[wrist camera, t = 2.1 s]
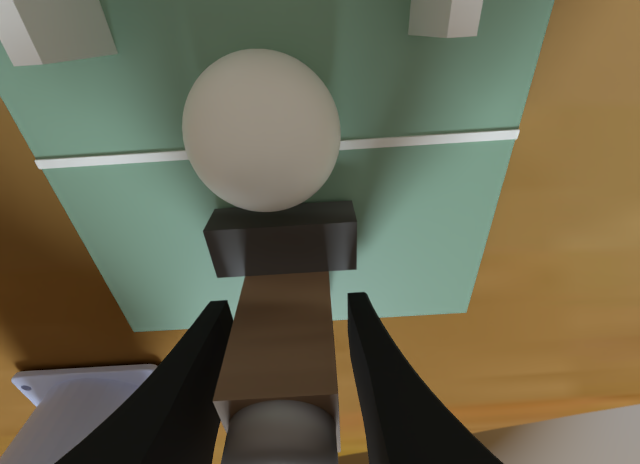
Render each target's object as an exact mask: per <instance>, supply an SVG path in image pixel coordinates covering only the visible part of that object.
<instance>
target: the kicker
mask: <svg viewBox="0 0 640 464" xmlns="http://www.w3.org/2000/svg"><path fill="white" fill-rule="evenodd" d="M203 233H204V237H205V240H206V243H207V247H208V250H209V253H210V256H211V260H212V263H213V266H214V269H215V273H216V276H217V278H226V277H242V276H245V278H244V282H243V286H242V290H241V294H240V297H239V301H238V305H237V309H236V313H235V317H234V321H233V324H232V328H231V332H230V336H229V340H228V344H227V347H226V351H225V355H224V359H223V363H222V367H221V371H220V374H219V378H218V382H217V386H216V390H215V394H214V397H213V403H214V406H215V408H216V410H217V413H218V415H219V417H220V419H221V422H222V424H223V426H224V428H225V431H226V433H227V436H226V441H225V446H224V451H223V456H222V461H221V464H338V453H337V452H341V449H340V426H339V402H338V386H337V373H336V360H335V347H334V334H333V321H332V308H331V295H330V282H329V271H342V270H357V219H356V215H355V211H354V207H353V203H352V200H350V201H333V202H317V203H301V204H298V205H296V206H294V207H291V208H288V209H285V210H281V211H275V212H256V211H250V210H246V209H242V208H239V207H236V208H220V209H214V211H213V213H212V215H211V217H210V218H209V220H208V222H207V224H206V226H205V228H204V230H203Z"/></svg>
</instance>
